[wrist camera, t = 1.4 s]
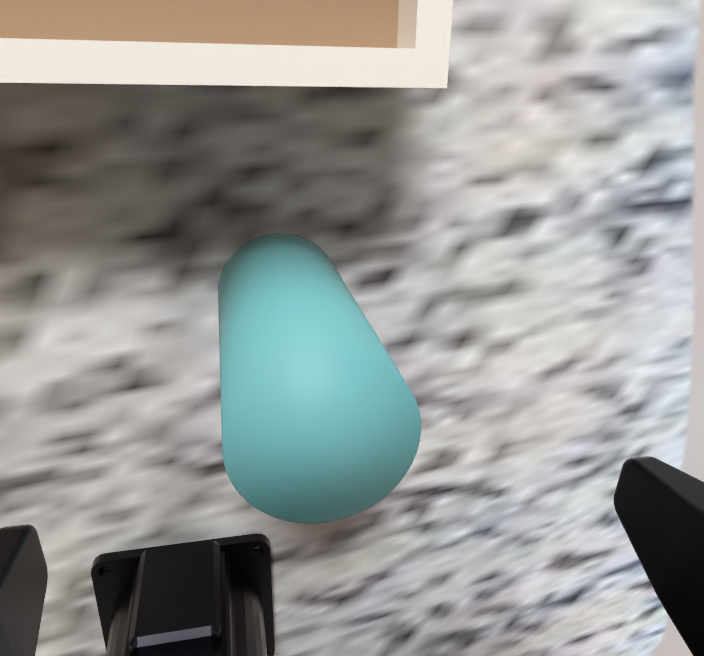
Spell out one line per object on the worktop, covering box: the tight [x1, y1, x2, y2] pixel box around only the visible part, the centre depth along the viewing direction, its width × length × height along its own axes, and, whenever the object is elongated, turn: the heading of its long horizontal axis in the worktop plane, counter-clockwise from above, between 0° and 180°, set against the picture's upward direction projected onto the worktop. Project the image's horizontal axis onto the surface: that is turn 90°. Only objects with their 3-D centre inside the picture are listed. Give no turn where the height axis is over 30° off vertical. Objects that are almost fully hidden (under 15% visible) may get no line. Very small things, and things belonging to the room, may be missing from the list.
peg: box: [218, 234, 421, 523], centre depth 16 cm, size 4×4×9 cm
